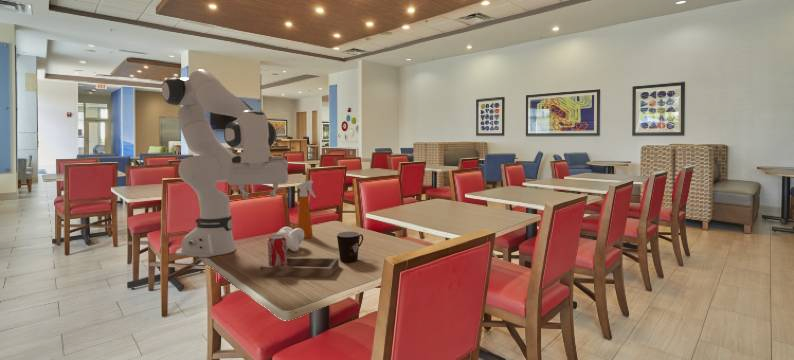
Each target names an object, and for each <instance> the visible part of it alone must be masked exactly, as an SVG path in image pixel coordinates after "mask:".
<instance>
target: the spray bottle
mask: <svg viewBox="0 0 794 360" xmlns="http://www.w3.org/2000/svg"><path fill="white" fill-rule="evenodd" d="M313 183H314V181H313V180H306V181H304V182H302V183H300V184H299V185H298V186H297V189H298V190H299V200H298V213H297V214H298V217H297V228H301V229H302V230H303V231H304V239H308V238H309V239H310V238H312V237H313V236H314V234H313V227H312V219H311V213H310V212H311V211H310V203H309V195H308V193H310V195H311V196H312V197H313V198H317V196H316V195H315V192H314V191H313V189H312V187H313V186H312V184H313Z"/></svg>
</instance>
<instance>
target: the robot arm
mask: <svg viewBox="0 0 794 360" xmlns="http://www.w3.org/2000/svg"><path fill="white" fill-rule="evenodd" d="M161 96H162V98H163V101H165V102H166V103H167V104H168V105H172V106H180V107H179V108H178V109H177V118H178V124H179V128H180V130H181V132H182V136H183V138H184V141H185V143H186V145H187V148H188V149H189V150H190V151H191V152H192V153H195V154H197V155H192V156H189V157H186V158H185V157H184V158H183V159H182V160H180V163H179V165H178V175H179V177H180V178H181V180H182V182H184V183H186V184H188V185H189V187H191V188H192V189H193V190H194V192H195V194H196V195H197V199H198V204H199V213H200V214H199V215H200V217H198V218H197V219H195V220H194V224H196V227H195V228H193V229H192V230H191V231H190V232H188V233H187V234H185V236H184V237H183V238H182V241H181V247H180V248H178V249H177V250H176V251H175V255H176V256H183V257H185V256H186V257H198V258H210V257H215V256H220V255H225V254H229V253H232V252H235V251H236V250H237V246H236V244H235V241H234V236H233V218H232V216H233V215H231V203H230V202H231V200H230V197H229V195H227V193H226V192H223V191H222V190H219V189H218V186H217V183H220V182H227V184H228V185H229V186H238V190H239V191H240V192H241V194H242V195H241V196H242V199H248V198H249V192H246V190H245V189H244V188H245V186H252V185H272V187H273V189H272V191H270V192H269V194H270V198H275V197H277V194H276V192H277V190H278V188H279V185H282V184H283V185H284V184H287V183H288V182H289V173H288V167H289V162H288V160H287V158H285V157H283V156H271V149H270V148H271V147H272V146H273V145H274V143H275V142H276V139H277V130H276V129H275V126H274V125H273V124H272V122H270V121H268V118H267V115H266V113H265V112H264V111H261V110H255V109H253V108H252V107H251V106H250V105H248V104H247V103H246V101H244V100H243V99H241V98H240V97H238V96H236V95H235V94H233V93H232V92H231V91H230V90H229V89H227V88H226V87H225V86H224V85H223V84H222V82H221V81H220V80H219V79H218V78H217V77H216V76H215V75H214V74H213V73H211V72H210V71H208V70H206V69H203V68H202V69H196V70H194V71H192V72H191V73H190V74H189V76H188V77H170V78H166V79H165V80H164V81H163V82H162V85H161ZM206 111H207V112H208V113H212V114H217V115H224V116H230V117H233V118H236V119H235V120H233V121H230V122H228V123H227V125H226V126H225V127H224V129H223V138H224V142H225V143H226V144H227V145H228V146H229V147H230V148H233V149H242V153H239V154H235V153H233V152H231V151H230V150H228V149H227V148H226V147H225V146H224V145H223V144H222V143H221V142H220V140H218V138H217V136H216V134H215V131H214V130H213V128H212V126H211V123H210V121H209V119H208V117H207V115H206V114H207V113H206Z"/></svg>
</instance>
